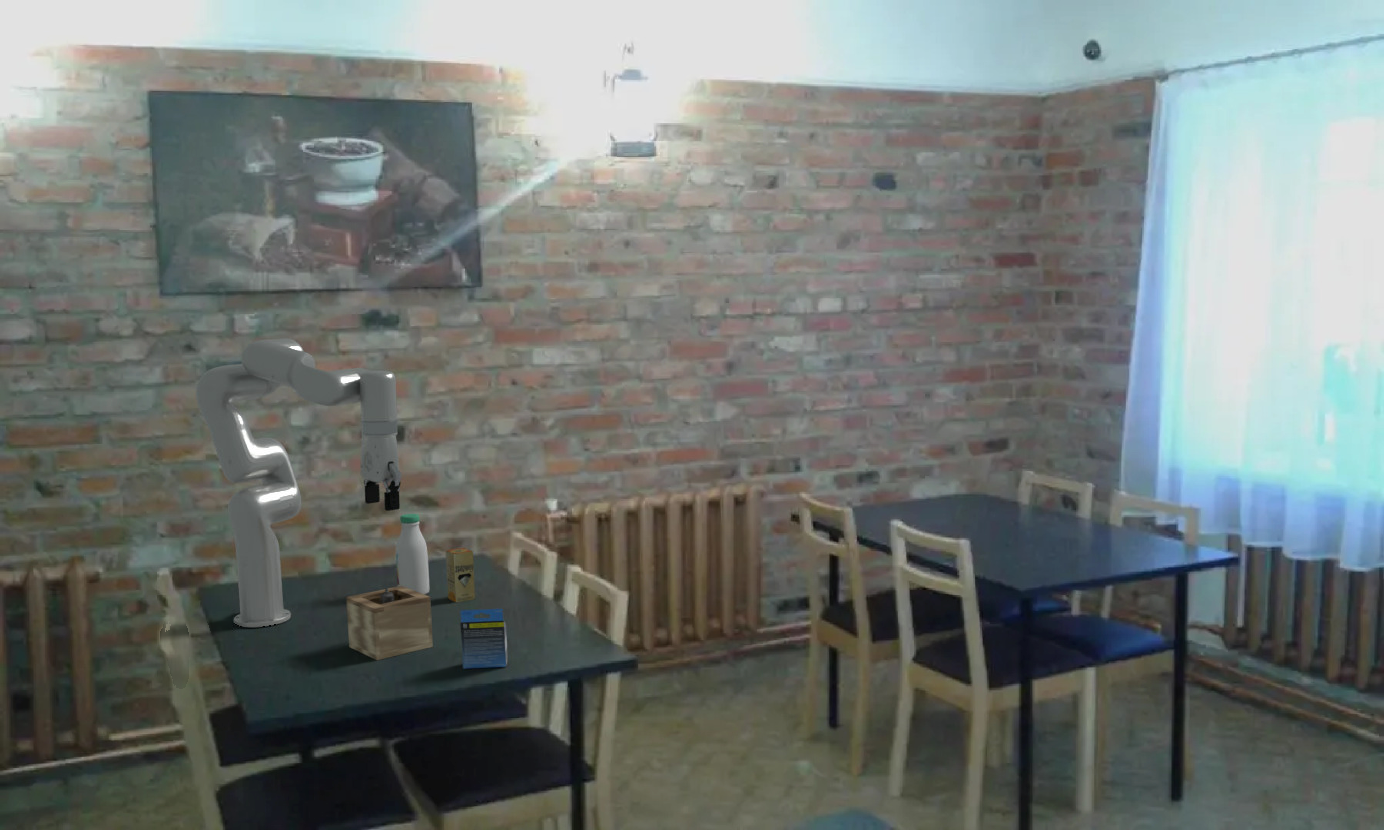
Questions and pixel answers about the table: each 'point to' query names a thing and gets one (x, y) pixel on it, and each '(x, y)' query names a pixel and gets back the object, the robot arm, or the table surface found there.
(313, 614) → the table surface
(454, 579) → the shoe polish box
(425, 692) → the table surface
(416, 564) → the milk bottle
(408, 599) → the box
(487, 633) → the label tape cartridge
